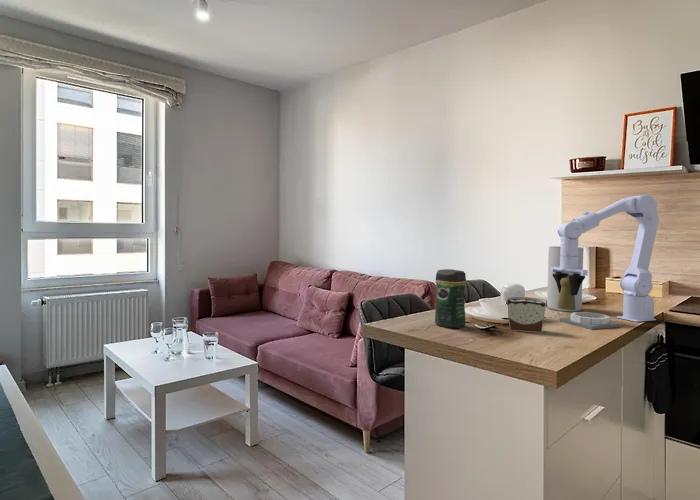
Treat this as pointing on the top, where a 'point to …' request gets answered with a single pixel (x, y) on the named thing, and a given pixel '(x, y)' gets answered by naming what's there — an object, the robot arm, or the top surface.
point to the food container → (526, 314)
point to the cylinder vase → (552, 285)
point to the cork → (566, 296)
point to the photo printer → (512, 291)
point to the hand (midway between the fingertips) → (567, 294)
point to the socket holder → (590, 320)
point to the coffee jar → (450, 298)
